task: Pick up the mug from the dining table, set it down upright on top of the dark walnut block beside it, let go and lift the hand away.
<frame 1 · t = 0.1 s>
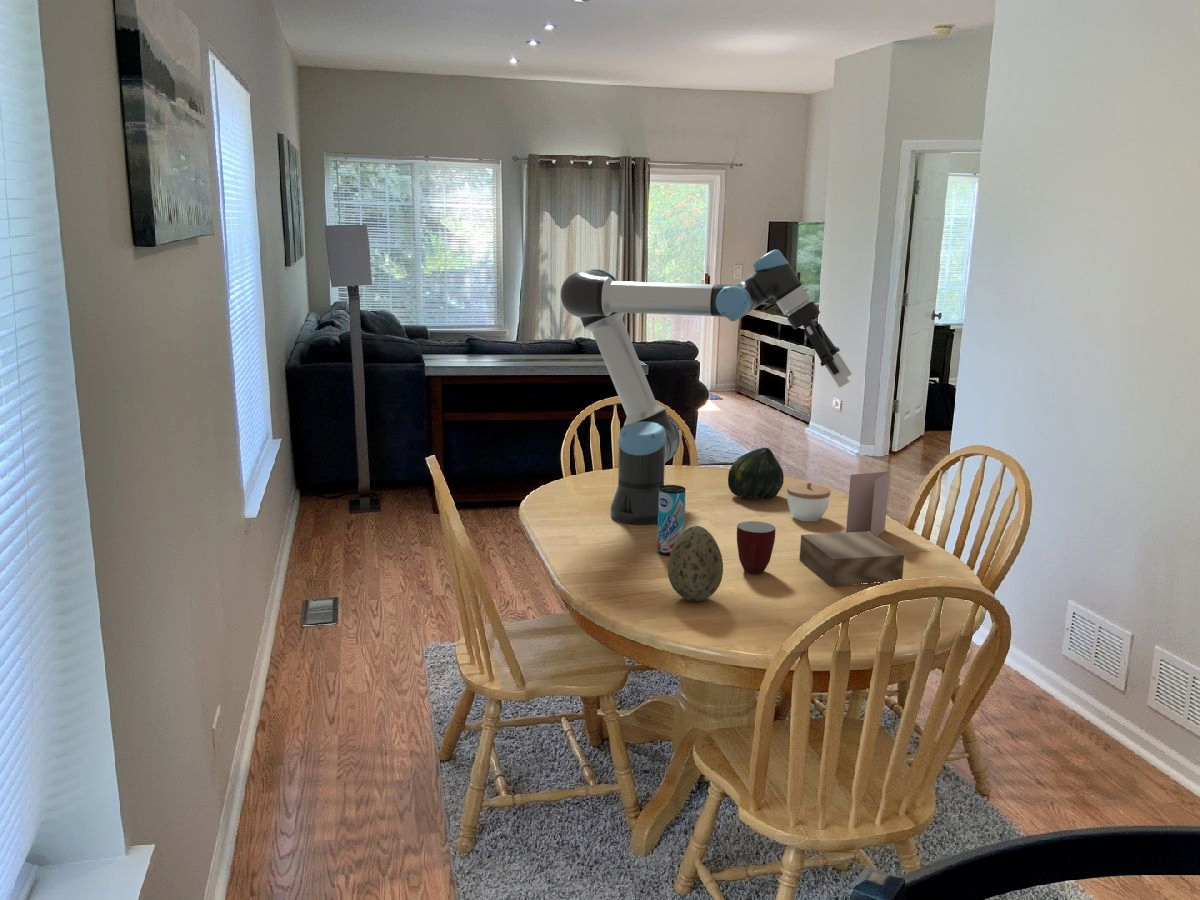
hand: (846, 380, 229), 36 cm above the table, tool tilted 35°, fingers open, 13 cm apart
mug: (753, 574, 199), on the table
squash: (755, 497, 257), on the table
beverage can: (670, 552, 211), on the table
lidded jar: (806, 518, 239), on the table
greeting card: (872, 536, 225), on the table
walnut block: (849, 571, 201), on the table
decorative egg: (694, 600, 184), on the table
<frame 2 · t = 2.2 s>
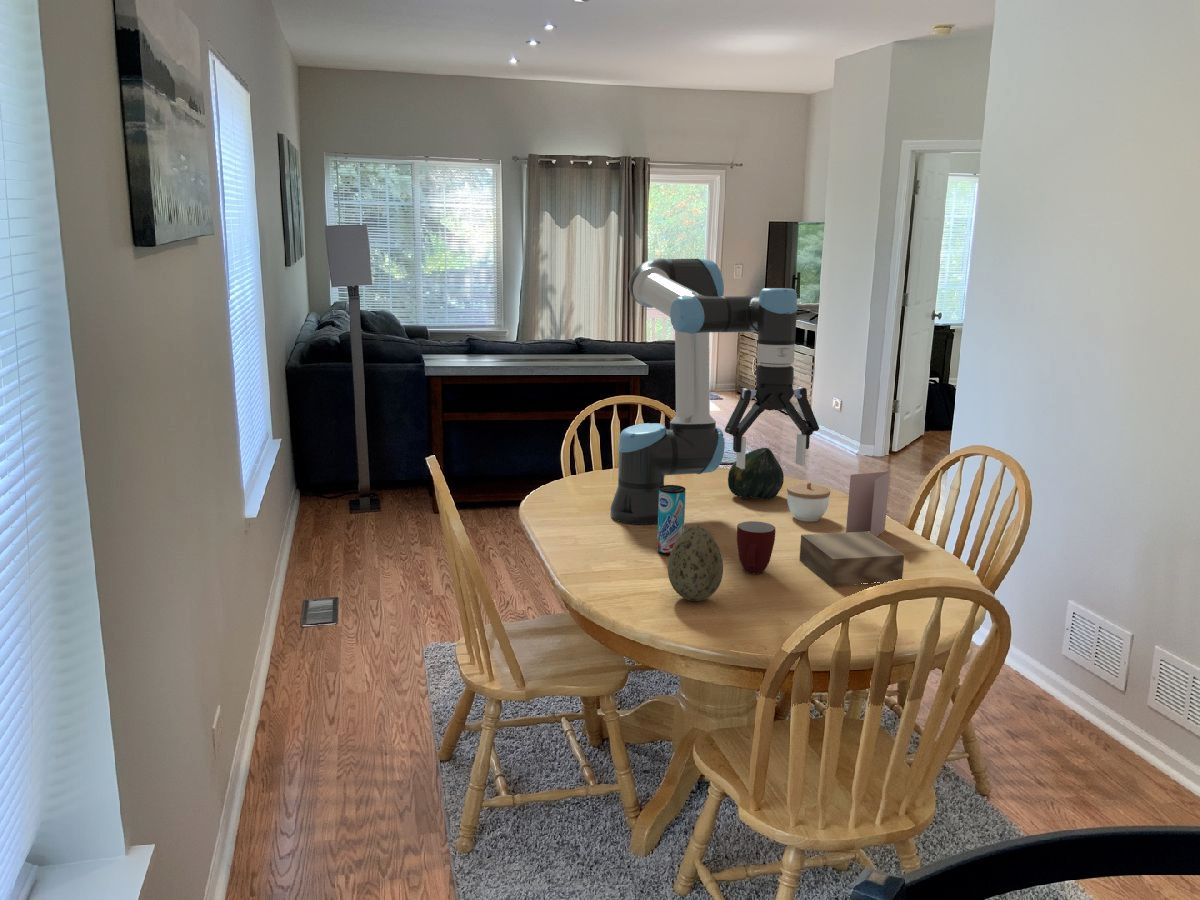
hand: (770, 466, 195), 23 cm above the table, tool pointing down, fingers open, 13 cm apart
nothing on the table moved.
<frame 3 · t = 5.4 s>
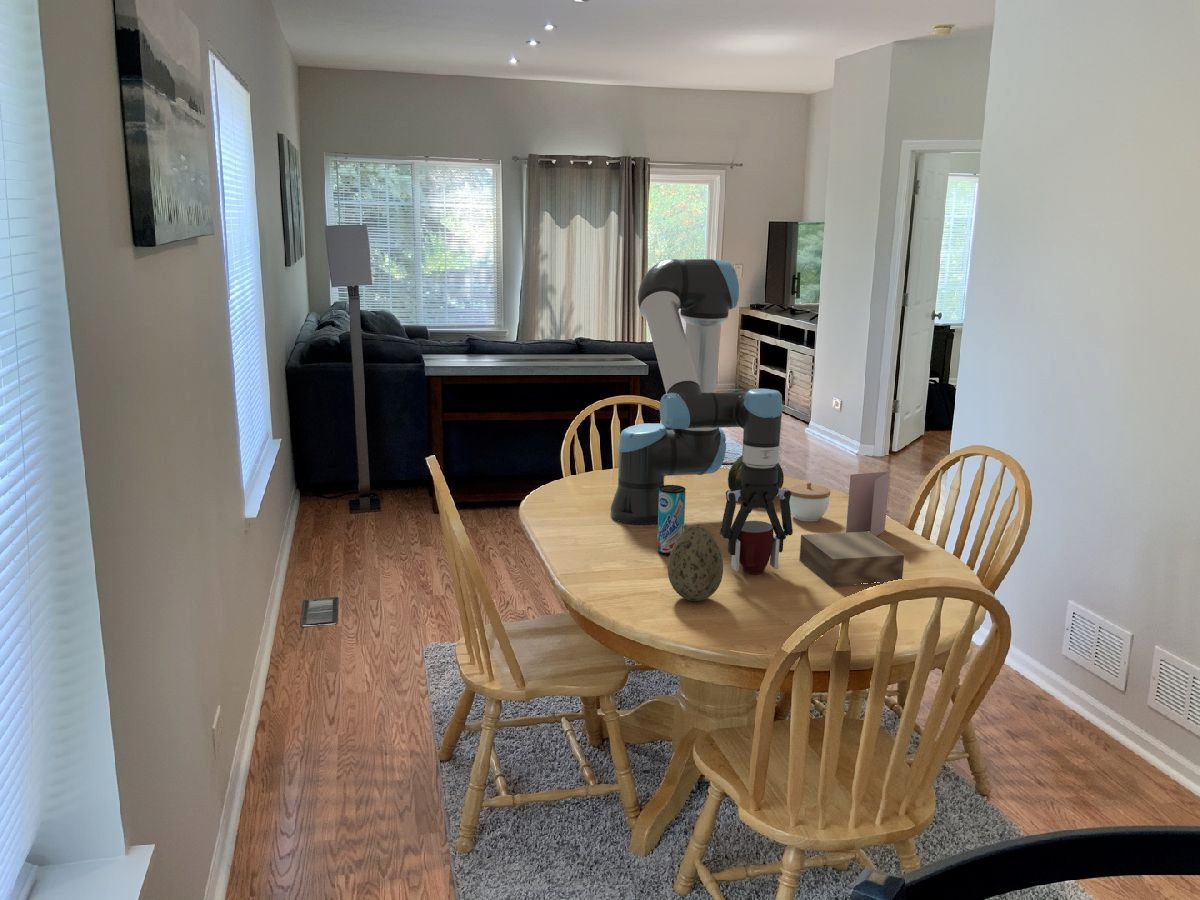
hand: (754, 567, 198), 1 cm above the table, tool pointing down, fingers closed on mug, 8 cm apart
mug: (753, 573, 199), on the table, touching gripper
everything else where it was.
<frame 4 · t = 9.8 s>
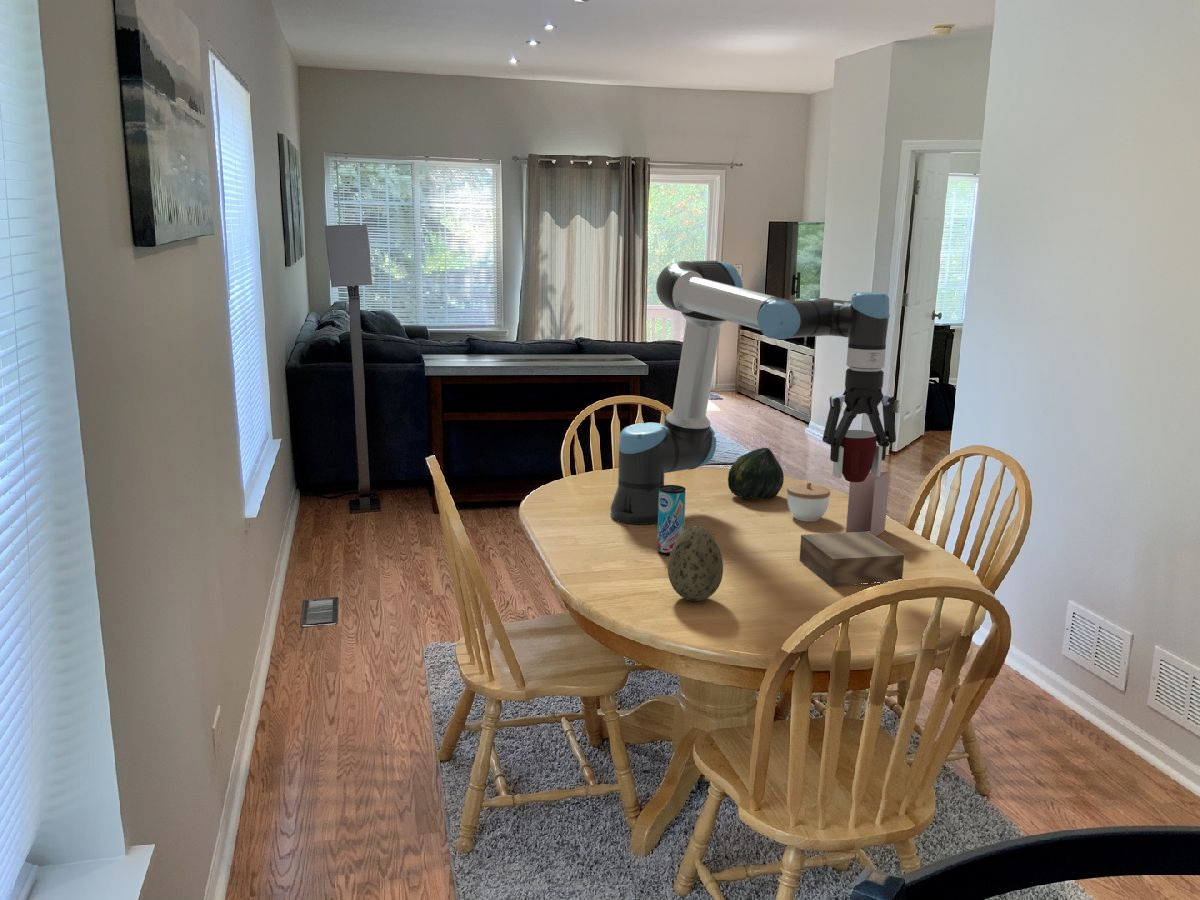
hand: (856, 475, 196), 21 cm above the table, tool pointing down, fingers closed on mug, 8 cm apart
mug: (855, 482, 196), point 20 cm above the table, touching gripper
everything else where it was.
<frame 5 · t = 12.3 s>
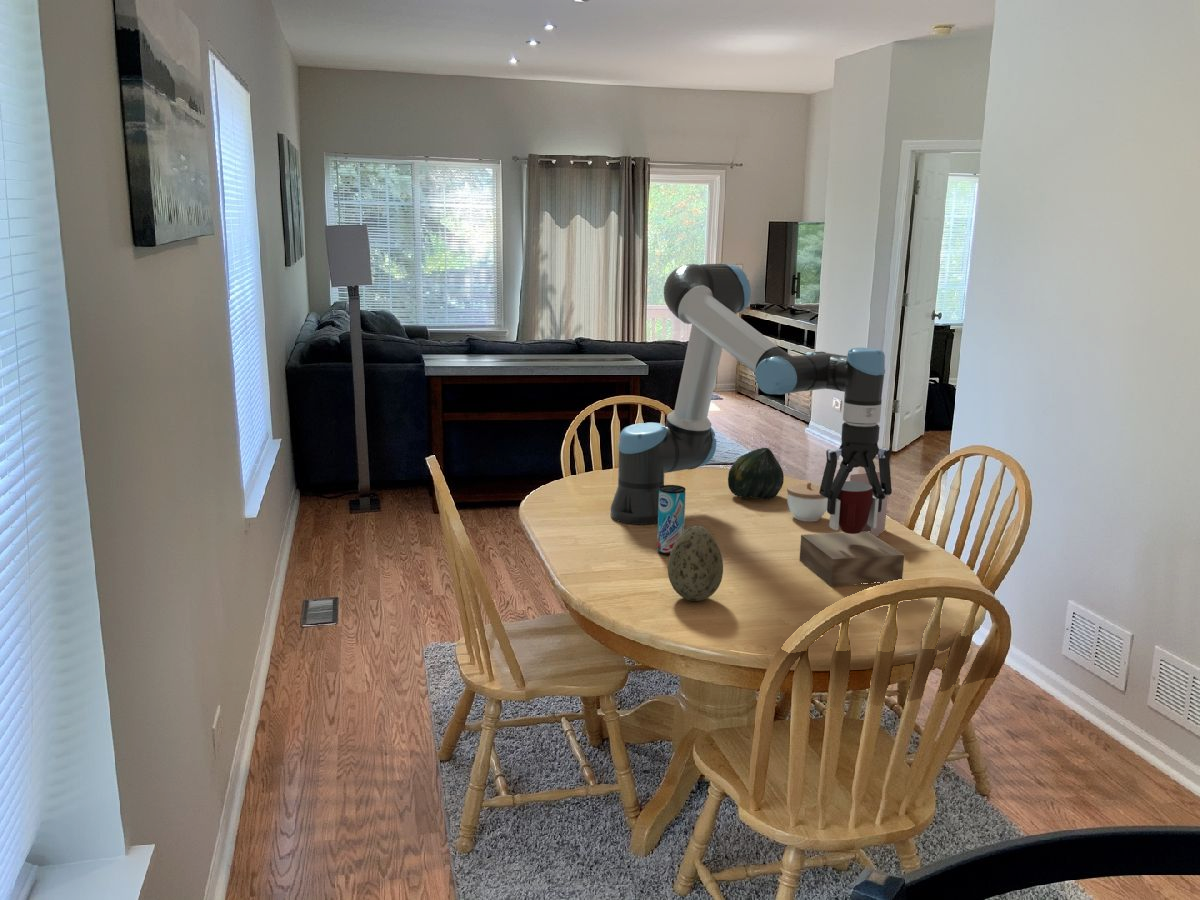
hand: (852, 527, 199), 10 cm above the table, tool pointing down, fingers closed on mug, 8 cm apart
mug: (852, 533, 199), point 8 cm above the table, touching gripper
everything else where it was.
when the fingers open (8 cm above the table, at t = 14.2 s): mug stays where it is, resting on walnut block.
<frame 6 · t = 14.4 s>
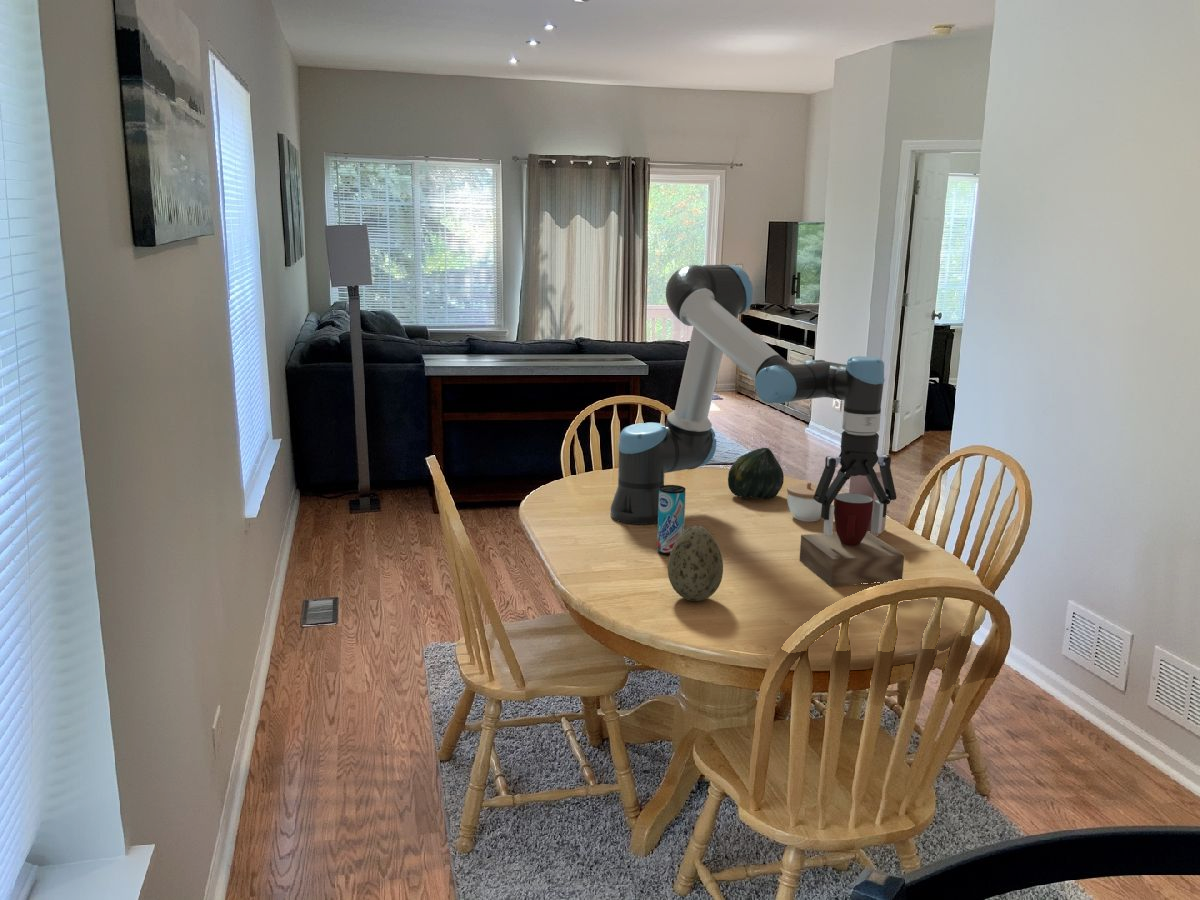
hand: (852, 532, 199), 9 cm above the table, tool pointing down, fingers open, 10 cm apart
mug: (850, 545, 200), point 6 cm above the table, touching walnut block
everything else where it was.
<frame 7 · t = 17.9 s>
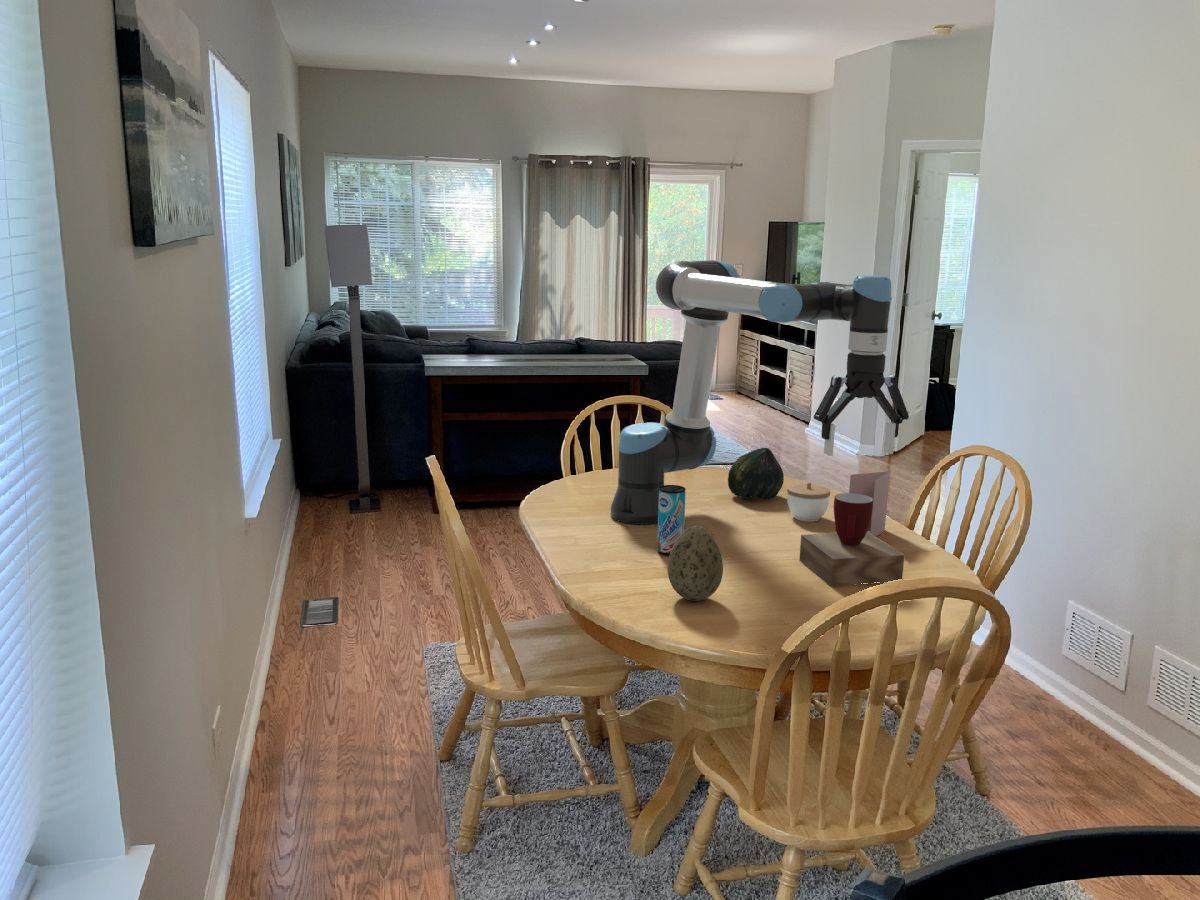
hand: (858, 453, 195), 26 cm above the table, tool pointing down, fingers open, 13 cm apart
nothing on the table moved.
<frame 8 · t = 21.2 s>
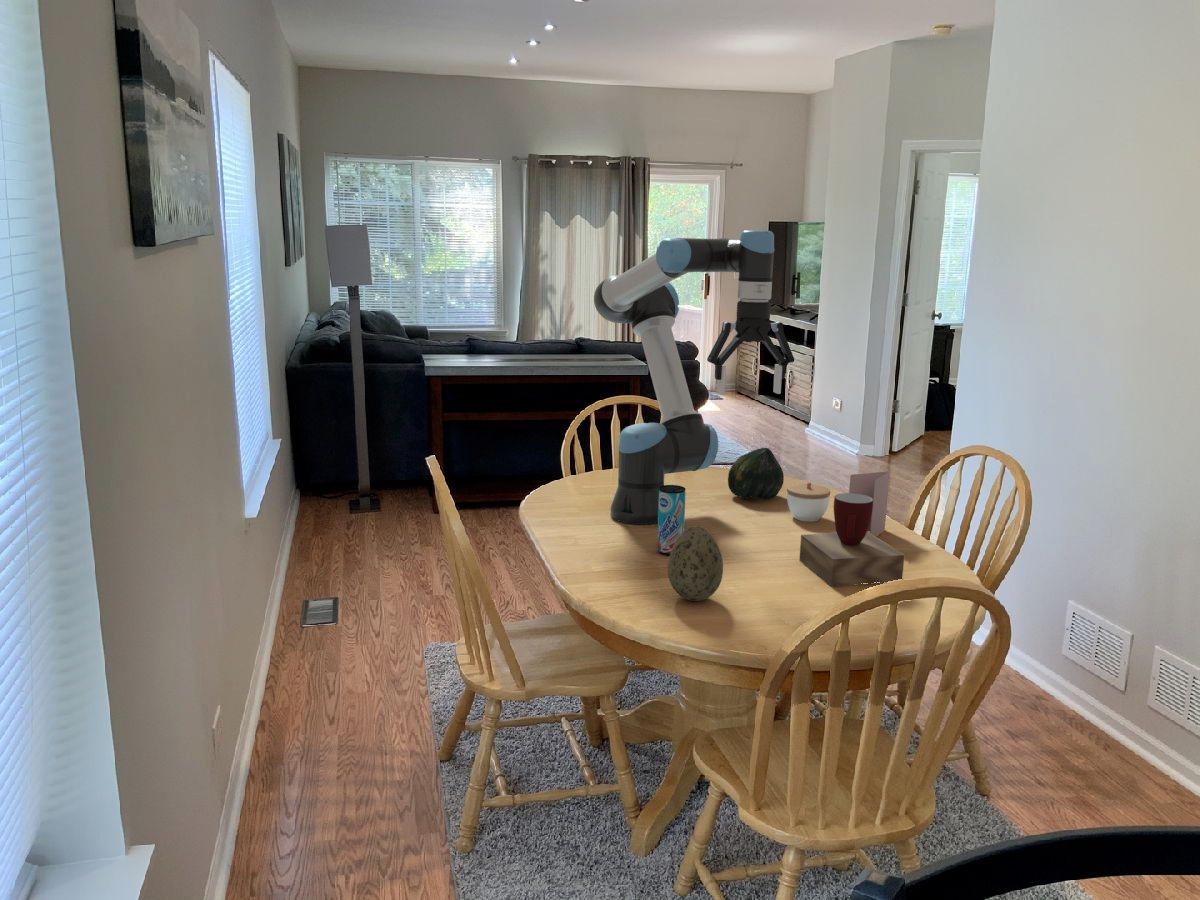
hand: (749, 393, 215), 35 cm above the table, tool pointing down, fingers open, 13 cm apart
nothing on the table moved.
at the end: mug inside the target area on the walnut block (0.1 cm from its centre), point 5.8 cm above the walnut block's base; mug tilted 0°; the gripper is holding nothing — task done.
